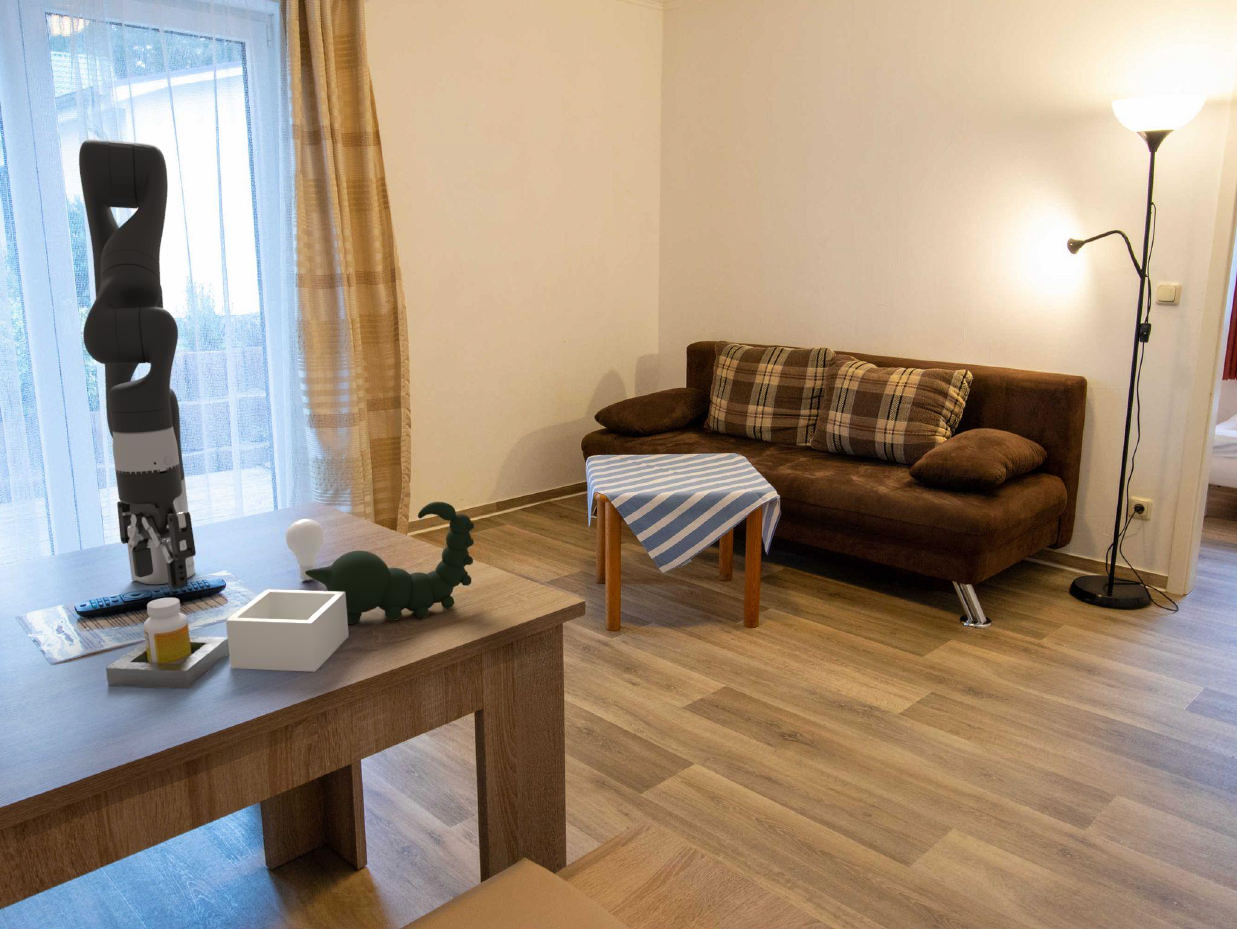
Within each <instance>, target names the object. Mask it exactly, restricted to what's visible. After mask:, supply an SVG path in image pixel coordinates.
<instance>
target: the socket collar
mask: <svg viewBox="0 0 1237 929" xmlns="http://www.w3.org/2000/svg"><path fill="white" fill-rule="evenodd" d="M189 638H190V647H191V656H189V657H188V658H187V659H186V660H184V661H183V662H182V663H180V664H165V663H148V658H147V650H146V642H145V641H143V642H142V643H140V644H139V645H137V646H136V647H134V648H133V649H131V650H130V651H128V652H127V653H126V654H124V655H123V656H121V657H120V658H118V659H117V660H116V661H114V662H113V663H111V664H110V665H108V666H107V667H106V668H105V671H106V677H107V678H106V679H107V686H108V687H109V686H110V687H130V688H132V687H134V688H153V689H154V688H155V689H176V690H177V689H182V690H188V689H190V688H191V687H192V686H194V685H195V683H197V682H198V681H199V680H201V679H202V678H203V677H204V676H206V674H208V673H209V672H210V671H211V670H212V669H213V668H215V667H216V666H217V665H218V664H220V663H221V662H222V661H223V660H224V659H225V658H227V657H228V656H230V655H229V646H228V636H227V637H226V636H225V637H222V636H200V635H199V636H196V635H195V636H193V635H189Z"/></svg>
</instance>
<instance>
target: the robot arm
mask: <svg viewBox="0 0 1237 929" xmlns="http://www.w3.org/2000/svg"><path fill="white" fill-rule="evenodd" d="M78 166H79V167H78V168H79V175H80V183H81V190H82V196H83V199H84V200H83V201H84V205H85V206H84V208H85V212H86V213H85V214H86V218H87V224H88V229H89V233H90V234H89V235H90V241H91V242H90V243H91V248H92V258H93V260H92V261H93V272H94V275H93V276H94V288H95V299H94V302H93V303H92V306H91V308H90V309H89V312H88V314H87V316H86V319H85V322H84V325H83V326H84V327H83V344H84V346H85V347H84V348H85V350H86V351H87V353H88V354H89V356H90V357H91V358H92V359H93V360H94V361H96V362H97V363H98V364H99V363H100V364H103V365H104V377H105V378H104V380H105V402H106V403H105V404H106V406H105V409H106V419H107V426H108V430H109V433H110V434H109V435H110V436H111V438H112V453H113V461H114V469H115V470H114V471H115V478H116V485H117V486H116V487H117V492H118V493H117V494H118V499H119V501H118V502H117V504H116V505H117V506H116V507H117V515H118V516H117V517H118V527H119V538H120V539H119V540H120V541H121V543H122V544H123V545H127V551H128V552H127V553H128V561H129V567H130V575H131V577H130V578H131V581H134V582H139V583H142V584H145V585H163V584H168V587H169V589H171V590H180V589H182V588H186V587H187V586H188V584H189V581H188V578H190V577H192V576H194V575H195V573H196V569H195V568H196V567H195V560H194V557H195V556H196V554H197V552H196V545H195V537H194V531H193V530H194V529H193V525H192V518H191V517H192V516H191V514H190V512H189V505H188V504H189V503H188V495H187V487H186V486H187V485H186V478H185V476H186V475H185V470H184V462H183V455H182V454H183V452H182V444H181V443H182V441H181V423H180V422H181V420H180V407H179V401H178V397H177V395H176V393H175V391H174V390H173V389H172V388H171V377H172V369H173V364H174V359H175V356H176V355H175V354H176V350H177V345H178V339H179V329H178V325H177V322H176V320H175V318H174V317H173V315H172V314H171V313H170V312H169V311H168V310H166V309H165V308H164V299H163V290H162V285H161V267H160V266H161V265H160V264H161V263H160V259H161V258H160V256H161V246H162V239H163V233H164V227H165V220H166V211H167V210H166V209H167V202H168V185H169V184H168V170H167V163H166V159H165V157H164V154H163V151H162V150H161V149H160V148H159V147H158V146H156V145H153V144H150V143H145V142H136V141H135V142H133V141H123V140H122V141H121V140H111V139H98V138H97V139H95V138H94V139H93V138H91V139H89V138H88V139H86V140H84V141H83V142H82V143H81V146H80V149H79V154H78ZM112 208H115V209H116V208H120V209H137V210H135V212H134V213H133V214H132V215H131V217H129V218H128V219H127V220H126V221H125V222H124V223H122V225H120V227H119V224H118V223H117V220H116V219H115V216H114V213H113V211H112ZM139 364H150V367H149V371H148V373H147V374H146V375H145V376H143V377H142V378H139V379H135V380H132V377H133V375H134V373H135V371H136V370H137V368H138V366H139Z"/></svg>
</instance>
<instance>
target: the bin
mask: <svg viewBox="0 0 1237 929" xmlns="http://www.w3.org/2000/svg"><path fill="white" fill-rule="evenodd" d="M225 626H226V635H227V637H228V646H229V655H228V656H229V663H230V669H236V670H237V669H241V670H261V671H263V670H264V671H265V670H266V671H267V670H268V671H269V670H270V671H289V672H292V671H293V672H313V673H314V672H317V671H318V670H319V668H321V666H323V665H324V663H325V662H326V661H327V660H328V659H329V658H330V657H331V656H332V655H333V654H334V653H335V652H336V650H337V649H338V648H339V647H341V645H342V644H343V643H344V642H345V641H346V639H348V638H349V625H348V622H347V608H346V594H345V592H338V591H327V590H326V591H325V590H302V589H298V590H297V589H295V590H294V589H269V588H268V589H267V588H266V589H265V590H264V591H262V592H261V593H259V594H258V595H257V596H256V597H254V598H253V599H252V600H250V601H249V602H248V603H247V604H245V605H244V606H243V607H240V609H239V610H238V611H236V612H235V613H234V614H232V615H230V617H228V618H227V619H226V620H225Z"/></svg>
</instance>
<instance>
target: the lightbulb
mask: <svg viewBox="0 0 1237 929" xmlns="http://www.w3.org/2000/svg"><path fill="white" fill-rule="evenodd" d="M324 530H325V529H324V528H323V527H322V525H321V524H320V523H319V522H318V521H316V520H314V519H312V518H311V519H310V518H301V519H297V520H296V521H294V522H293V523H291V525H289V527H288V528H287V530H286V533H285V542H286V545H287V547H288V549H289V551H291V552H292V554H294V556H295V558H296V562H297V564H298V565H299V572H300V579H301V580H303V581H305V582H312V581H313V580H314V579H313V578H311V577H309V576H308V575H306V574H305V571H307V570H311V569H317V561H318V557H319V553H320V551H321V549H322V547H323V546H324V544H325V539H326V535H325V534H326V533H325V531H324Z"/></svg>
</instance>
